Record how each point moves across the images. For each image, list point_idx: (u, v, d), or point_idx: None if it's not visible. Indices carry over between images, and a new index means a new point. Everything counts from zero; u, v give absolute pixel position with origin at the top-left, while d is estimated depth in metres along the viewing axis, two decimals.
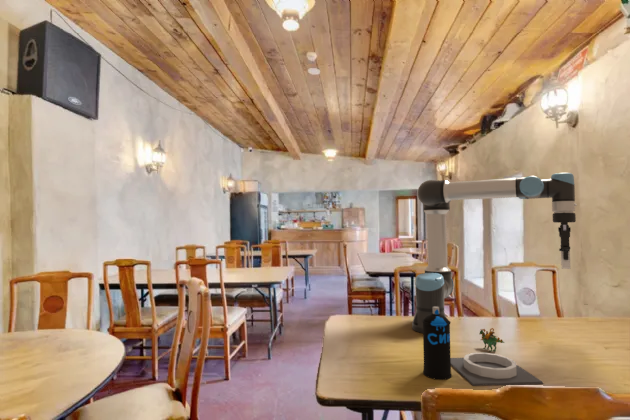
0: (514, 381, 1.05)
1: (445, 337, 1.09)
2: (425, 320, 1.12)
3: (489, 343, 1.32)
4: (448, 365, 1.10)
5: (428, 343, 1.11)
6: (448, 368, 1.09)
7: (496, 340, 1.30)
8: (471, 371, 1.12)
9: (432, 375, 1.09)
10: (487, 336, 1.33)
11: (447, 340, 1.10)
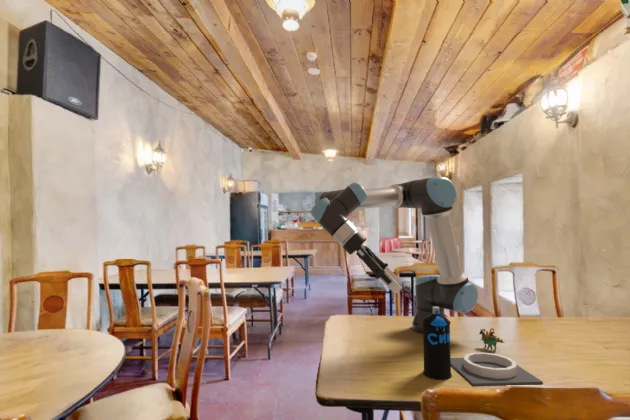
0: (514, 381, 1.05)
1: (445, 337, 1.09)
2: (425, 320, 1.12)
3: (489, 343, 1.32)
4: (448, 365, 1.10)
5: (428, 343, 1.11)
6: (448, 368, 1.09)
7: (496, 340, 1.30)
8: (471, 371, 1.12)
9: (432, 375, 1.09)
10: (487, 336, 1.33)
11: (447, 340, 1.10)
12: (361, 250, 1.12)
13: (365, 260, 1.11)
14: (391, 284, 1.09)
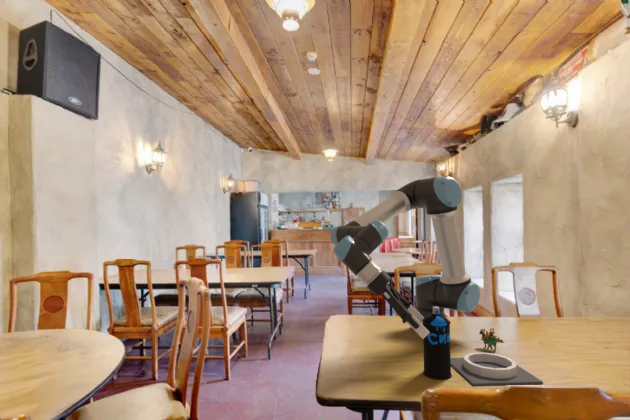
0: (514, 381, 1.05)
1: (445, 337, 1.09)
2: (425, 320, 1.12)
3: (489, 343, 1.32)
4: (448, 365, 1.10)
5: (428, 343, 1.11)
6: (448, 368, 1.09)
7: (496, 340, 1.30)
8: (471, 371, 1.12)
9: (432, 375, 1.09)
10: (487, 336, 1.33)
11: (447, 340, 1.10)
12: (387, 293, 1.09)
13: (392, 303, 1.08)
14: (418, 328, 1.06)
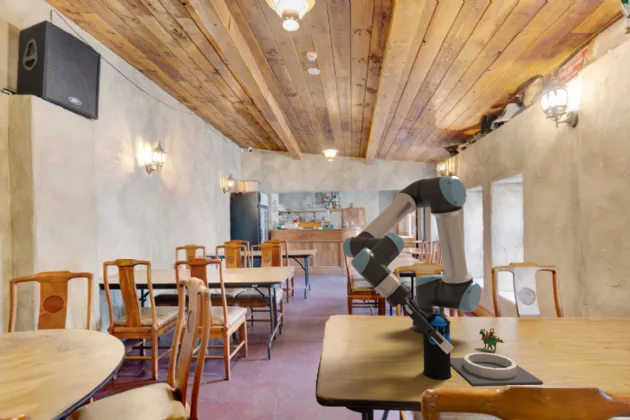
0: (514, 381, 1.05)
1: (445, 337, 1.09)
2: None
3: (489, 343, 1.32)
4: (448, 365, 1.10)
5: (428, 343, 1.11)
6: (448, 368, 1.09)
7: (496, 340, 1.30)
8: (471, 371, 1.12)
9: (432, 375, 1.09)
10: (487, 336, 1.33)
11: (447, 340, 1.10)
12: (410, 308, 1.08)
13: (415, 319, 1.08)
14: (443, 343, 1.08)
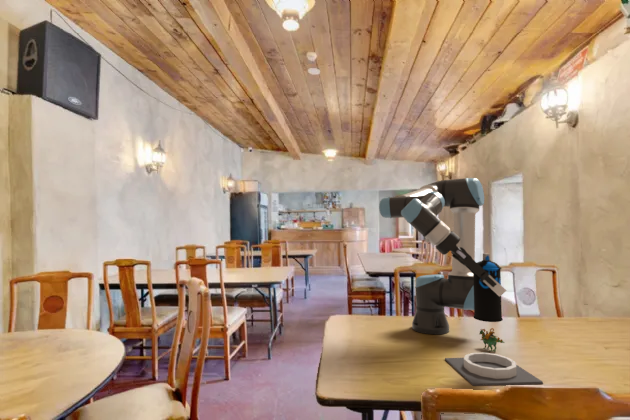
0: (514, 381, 1.05)
1: (497, 281, 1.12)
2: None
3: (489, 343, 1.32)
4: (500, 308, 1.12)
5: (479, 287, 1.13)
6: (499, 311, 1.12)
7: (496, 340, 1.30)
8: (471, 371, 1.12)
9: (484, 318, 1.12)
10: (487, 336, 1.33)
11: None
12: (463, 253, 1.11)
13: (468, 263, 1.11)
14: (495, 287, 1.11)
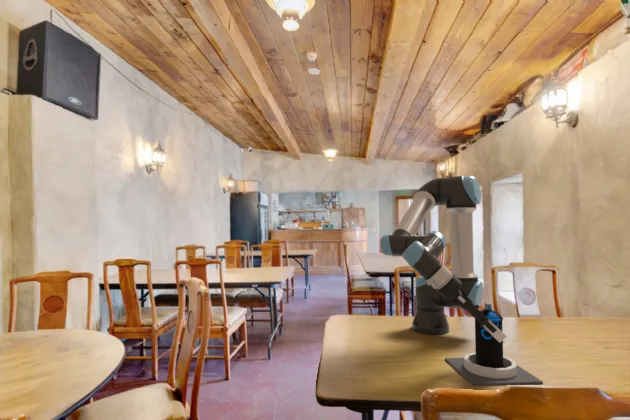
0: (514, 381, 1.05)
1: None
2: None
3: None
4: (501, 360, 1.12)
5: (481, 338, 1.13)
6: (501, 362, 1.12)
7: None
8: (471, 371, 1.12)
9: None
10: None
11: None
12: (462, 297, 1.11)
13: (468, 307, 1.10)
14: (495, 332, 1.08)
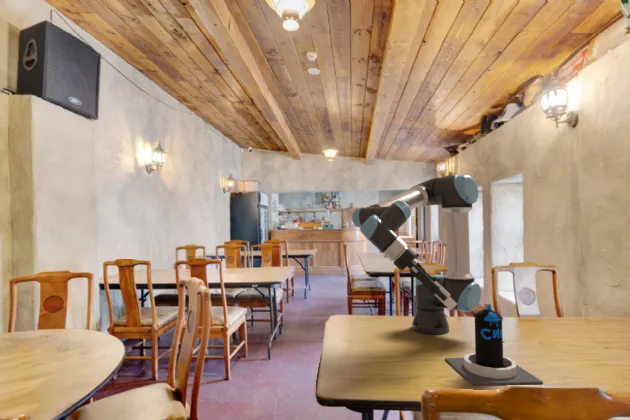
0: (514, 381, 1.05)
1: (499, 332, 1.12)
2: (477, 316, 1.15)
3: None
4: (501, 360, 1.12)
5: (481, 338, 1.13)
6: (501, 362, 1.12)
7: None
8: (471, 371, 1.12)
9: None
10: None
11: (500, 335, 1.12)
12: (415, 267, 1.14)
13: (420, 277, 1.12)
14: (446, 300, 1.11)
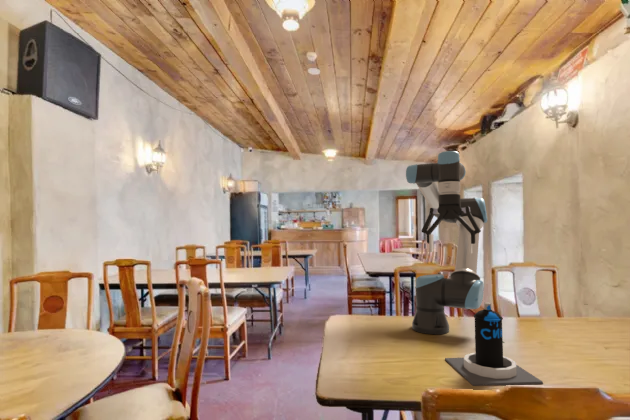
0: (514, 381, 1.05)
1: (499, 332, 1.12)
2: (477, 316, 1.15)
3: None
4: (501, 359, 1.12)
5: (481, 338, 1.13)
6: (501, 362, 1.12)
7: None
8: (471, 371, 1.12)
9: None
10: None
11: (500, 335, 1.12)
12: (469, 208, 1.33)
13: (472, 216, 1.31)
14: (471, 245, 1.32)
